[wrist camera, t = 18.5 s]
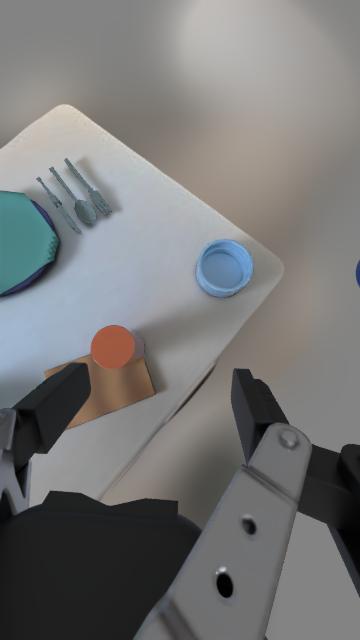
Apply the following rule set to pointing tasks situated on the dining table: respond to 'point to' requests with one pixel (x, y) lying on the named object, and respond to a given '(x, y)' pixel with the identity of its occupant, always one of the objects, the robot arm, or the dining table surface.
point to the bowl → (224, 267)
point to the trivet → (110, 388)
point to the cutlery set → (34, 233)
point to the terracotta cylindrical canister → (116, 347)
